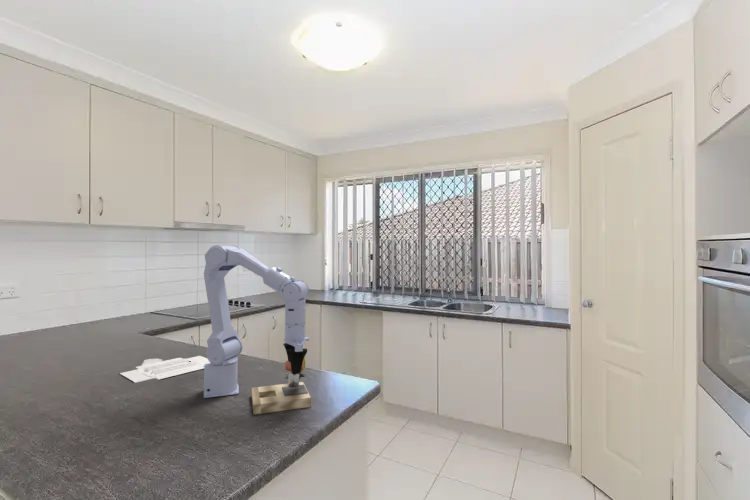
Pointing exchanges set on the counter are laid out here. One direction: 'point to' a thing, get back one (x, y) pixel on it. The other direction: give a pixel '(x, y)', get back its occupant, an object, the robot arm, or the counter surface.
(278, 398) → the board
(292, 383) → the peg
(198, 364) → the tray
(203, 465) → the counter surface
